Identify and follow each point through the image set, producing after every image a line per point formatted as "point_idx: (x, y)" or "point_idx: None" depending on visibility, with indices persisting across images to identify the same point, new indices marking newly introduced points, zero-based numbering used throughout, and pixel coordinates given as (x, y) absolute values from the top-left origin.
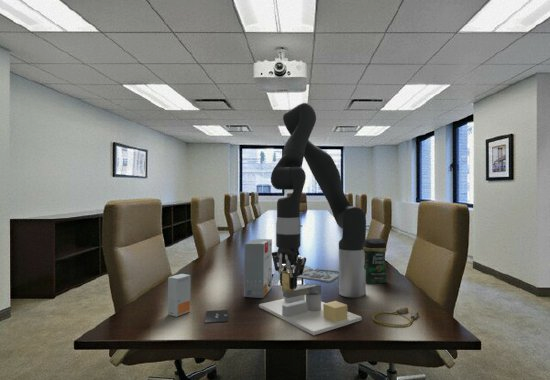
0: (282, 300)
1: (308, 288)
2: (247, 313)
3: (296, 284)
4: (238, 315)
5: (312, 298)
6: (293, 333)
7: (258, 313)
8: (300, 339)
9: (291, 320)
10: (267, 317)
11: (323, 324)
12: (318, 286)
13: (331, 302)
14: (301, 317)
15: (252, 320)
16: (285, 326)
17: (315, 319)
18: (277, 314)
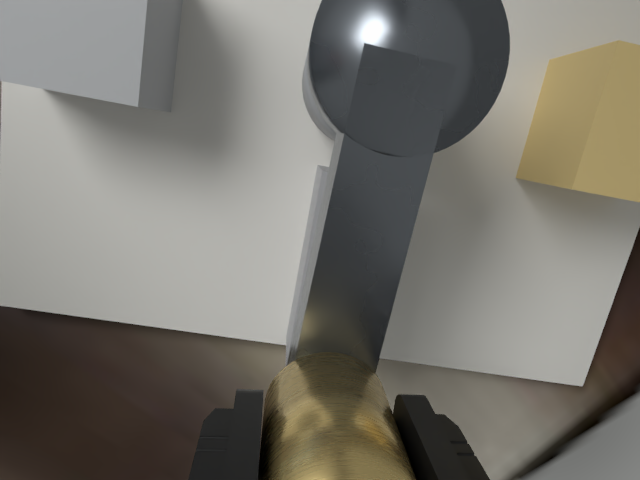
0: (37, 108)
1: (423, 179)
2: (69, 420)
3: (464, 448)
4: (64, 473)
5: None
6: (477, 425)
7: (116, 374)
8: (543, 446)
9: (393, 359)
10: (212, 378)
11: (577, 277)
12: (492, 51)
13: (611, 110)
14: (409, 284)
15: (189, 463)
16: (387, 394)
17: (497, 248)
18: (244, 335)
